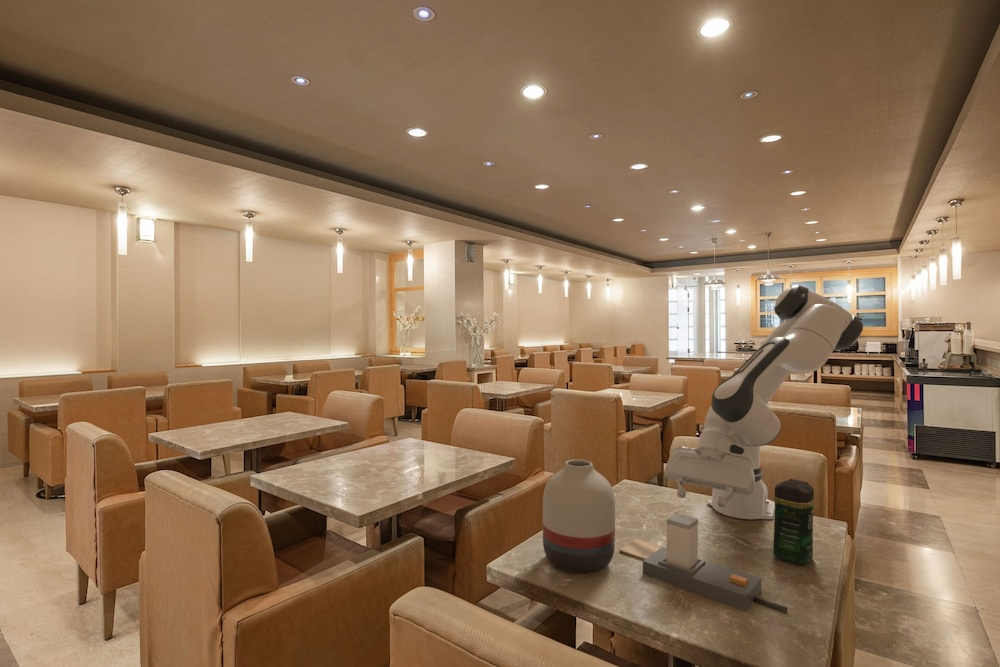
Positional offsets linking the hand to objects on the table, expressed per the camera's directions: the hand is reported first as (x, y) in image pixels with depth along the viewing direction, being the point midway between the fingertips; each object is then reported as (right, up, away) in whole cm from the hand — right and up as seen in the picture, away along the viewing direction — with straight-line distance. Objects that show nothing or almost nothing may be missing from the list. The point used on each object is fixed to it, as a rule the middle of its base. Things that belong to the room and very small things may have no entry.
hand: (700, 501), depth 118 cm
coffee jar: (+24, -16, +4) cm, 29 cm away
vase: (-28, -15, +1) cm, 32 cm away
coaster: (-11, -15, +7) cm, 20 cm away
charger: (-6, -12, -5) cm, 15 cm away
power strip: (-1, -15, -10) cm, 18 cm away
